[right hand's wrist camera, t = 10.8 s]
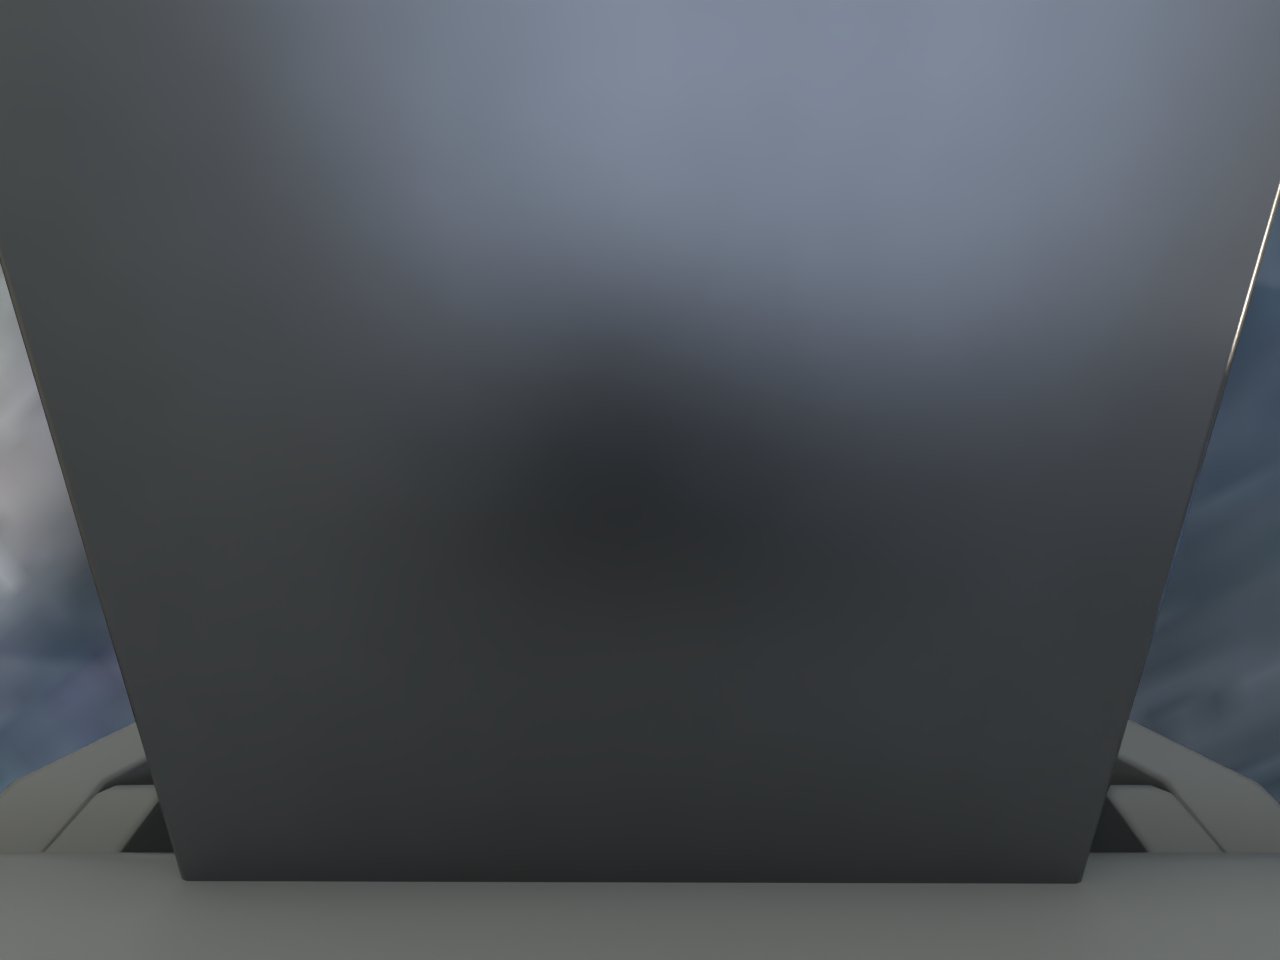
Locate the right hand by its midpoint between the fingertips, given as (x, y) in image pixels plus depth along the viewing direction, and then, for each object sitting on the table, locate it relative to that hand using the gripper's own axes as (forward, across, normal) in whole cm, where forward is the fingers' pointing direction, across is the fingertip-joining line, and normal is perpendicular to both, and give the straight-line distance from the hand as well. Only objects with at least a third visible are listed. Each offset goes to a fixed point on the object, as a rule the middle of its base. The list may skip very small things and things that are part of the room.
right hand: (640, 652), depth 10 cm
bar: (+3, 0, +8) cm, 9 cm away
